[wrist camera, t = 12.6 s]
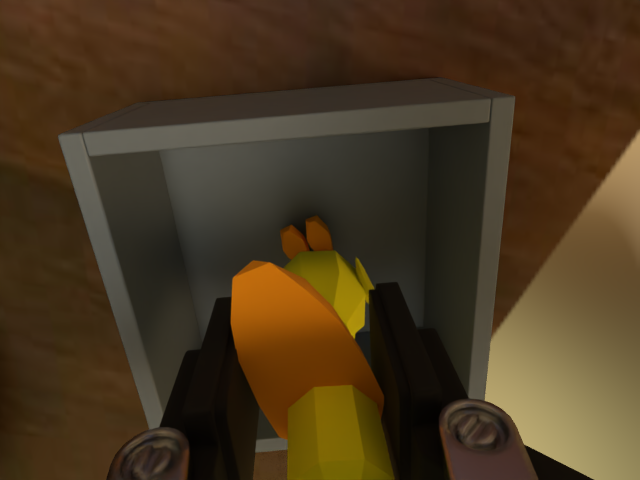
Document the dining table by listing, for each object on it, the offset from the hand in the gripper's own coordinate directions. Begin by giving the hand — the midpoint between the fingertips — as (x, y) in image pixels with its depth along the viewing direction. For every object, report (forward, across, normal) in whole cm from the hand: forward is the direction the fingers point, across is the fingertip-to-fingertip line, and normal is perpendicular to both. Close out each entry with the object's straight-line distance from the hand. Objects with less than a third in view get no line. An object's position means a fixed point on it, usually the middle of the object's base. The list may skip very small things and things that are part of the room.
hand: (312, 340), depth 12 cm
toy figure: (+7, 0, 0) cm, 7 cm away
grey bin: (+8, 0, 0) cm, 8 cm away
